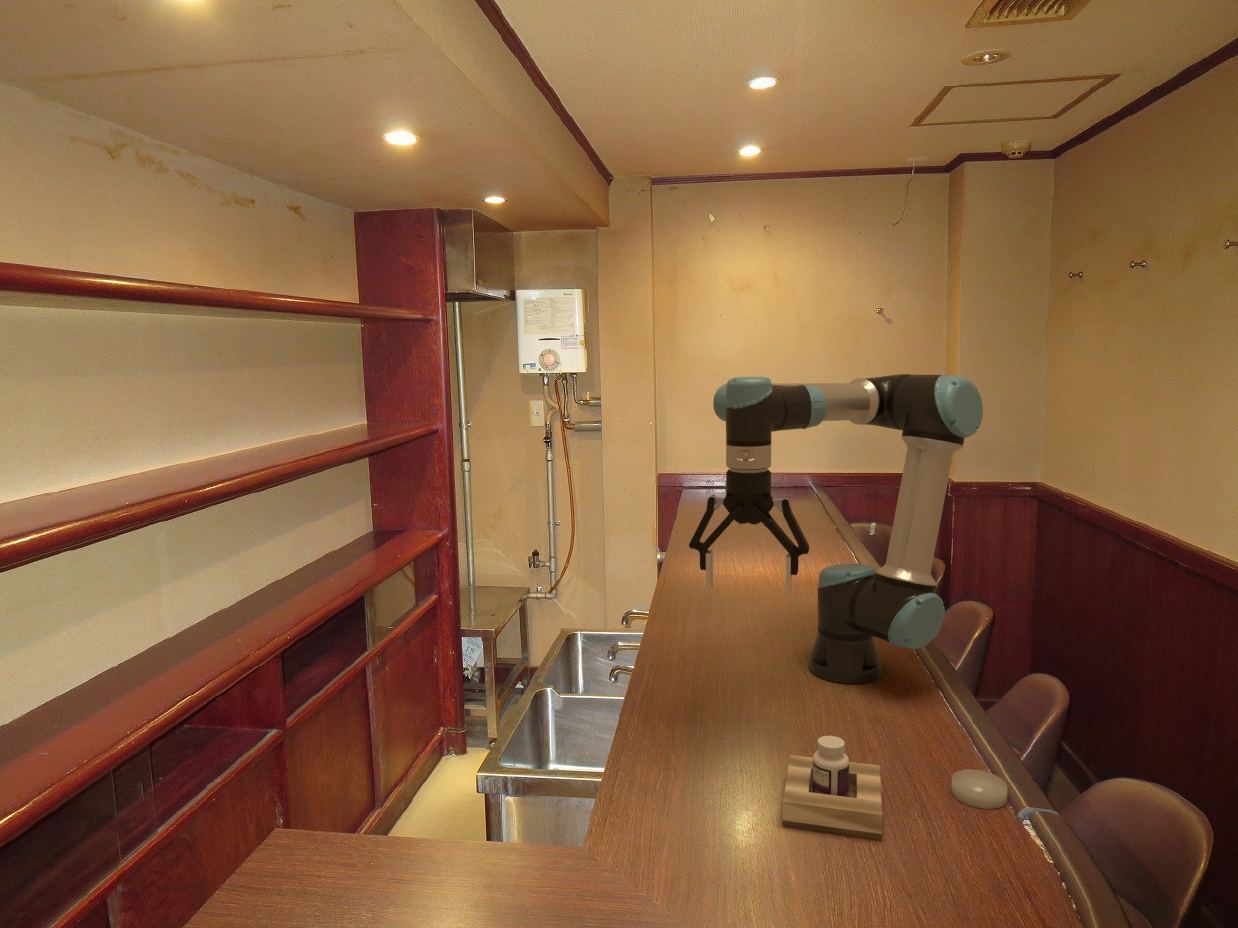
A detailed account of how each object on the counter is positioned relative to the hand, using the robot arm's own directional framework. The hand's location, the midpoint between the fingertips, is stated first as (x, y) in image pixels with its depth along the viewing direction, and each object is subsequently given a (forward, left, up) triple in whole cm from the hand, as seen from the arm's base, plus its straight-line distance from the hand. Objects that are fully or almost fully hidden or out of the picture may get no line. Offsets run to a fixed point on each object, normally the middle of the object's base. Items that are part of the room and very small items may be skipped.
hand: (748, 590), depth 141 cm
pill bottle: (+16, +15, -28) cm, 35 cm away
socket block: (+16, +15, -29) cm, 36 cm away
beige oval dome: (+7, +37, -29) cm, 47 cm away
